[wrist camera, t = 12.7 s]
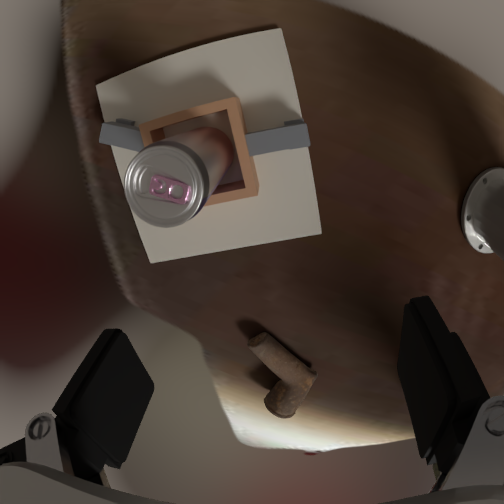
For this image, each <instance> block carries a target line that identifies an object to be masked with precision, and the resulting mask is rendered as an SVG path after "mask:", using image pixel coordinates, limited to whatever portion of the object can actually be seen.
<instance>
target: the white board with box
mask: <svg viewBox="0 0 504 504" xmlns="http://www.w3.org/2000/svg"><path fill="white" fill-rule="evenodd" d="M96 89H97V93H98V98H99V102H100V106H101V110H102V114H103V118H104V122H105V123H102V128H101V133H100V139H99V142H100V143H104V144H108V145H111V147H112V151H113V154H114V158H115V161H116V165H117V168H118V171H119V174H120V178H121V181H122V184H123V187H124V177H125V173H126V170H127V167H128V165H129V164H130V162H131V161H132V159H133V158H134V157H135V156H136V155H137V154H138V153H139V152H140V151H141V150H142V149H143V148H145V147H146V146H148V145H150V144H152V143H155V142H157V141H160V140H163V139H166V138H169V137H172V136H175V135H178V134H181V133H184V132H187V131H190V130H193V129H196V128H200V127H213V128H216V129H219V130H221V131H222V132H223V133H225V134H226V135H227V136H228V138H229V139H230V141H231V143H232V145H233V150H234V158H233V162H232V165H231V167H230V168H229V170H228V171H227V173H226V174H225V175H224V177H223V178H222V180H221V181H220V183H219V184H218V186H217V187H216V189H215V190H214V192H213V193H212V195H211V196H210V197H209V199H208V200H207V202H206V203H205V205H204V206H203V208H202V209H201V211H200V212H199V213H198V214H197V215H196V216H194V217H193V218H192V219H190V220H188V221H186V222H185V223H183V224H181V225H178V226H175V227H169V228H164V227H157V226H153V225H151V224H149V223H147V222H145V221H143V220H142V219H141V218H139V217H138V216H137V215H136V214H135V213H134V212H133V210H132V209H131V211H132V214H133V217H134V220H135V223H136V225H137V228H138V231H139V234H140V237H141V239H142V242H143V245H144V247H145V250H146V253H147V255H148V258H149V260H150V263H155V262H161V261H167V260H172V259H178V258H184V257H189V256H195V255H201V254H206V253H212V252H218V251H224V250H229V249H235V248H241V247H247V246H253V245H258V244H264V243H270V242H276V241H282V240H287V239H293V238H299V237H305V236H311V235H317V234H322V232H321V225H320V218H319V211H318V204H317V198H316V191H315V185H314V179H313V173H312V167H311V162H310V156H309V151H308V147H309V146H310V140H309V135H308V130H307V125H306V123H304V120H303V119H302V115H301V110H300V105H299V100H298V96H297V91H296V87H295V82H294V78H293V74H292V69H291V65H290V61H289V57H288V53H287V49H286V45H285V41H284V37H283V33H282V30H281V28H278V29H272V30H266V31H261V32H256V33H251V34H246V35H241V36H237V37H232V38H228V39H224V40H220V41H216V42H212V43H209V44H205V45H202V46H198V47H195V48H191V49H188V50H185V51H182V52H179V53H175V54H172V55H169V56H167V57H164V58H161V59H158V60H155V61H153V62H150V63H147V64H145V65H142V66H139V67H137V68H134V69H132V70H130V71H127V72H125V73H122V74H120V75H118V76H116V77H113V78H111V79H109V80H107V81H104V82H102V83H100V84H98V85H96ZM130 208H131V207H130Z"/></svg>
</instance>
